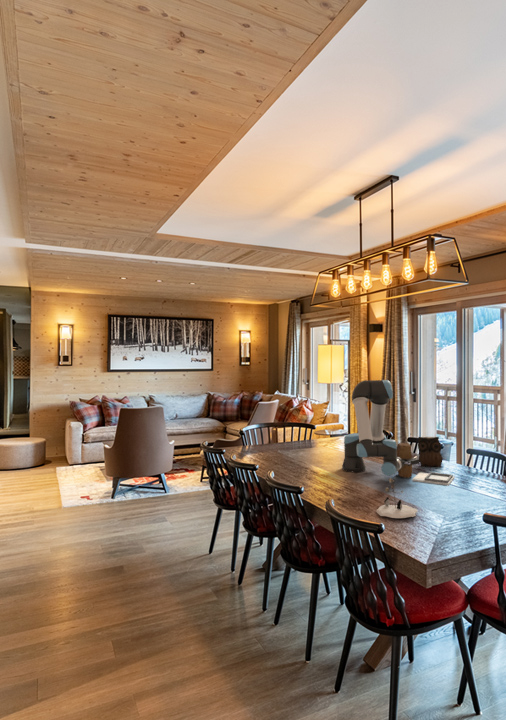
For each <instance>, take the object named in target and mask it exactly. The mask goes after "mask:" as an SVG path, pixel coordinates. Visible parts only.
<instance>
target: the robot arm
mask: <svg viewBox="0 0 506 720" xmlns="http://www.w3.org/2000/svg"><path fill="white" fill-rule="evenodd" d="M393 395H394V391H393V387H392V383H391V381H389V380H388V379H381V380H380V379H378V380H376V379H374V380H367V379H365V380H362V381H360V382H358V383H357V384H356V386H355V387H354V388H353V390H352V395H351V402H352V405H354V412H355V420H356V426H357V432H354V433H348V434H346V435H344V438H343V444H344V445H343V446H344V447H343V448H344V451H343V452H344V458H343V461H342V464H341V469H342V470H343V469H344V470H347V471H346V472H349V471H353V472H352V473H360V472H361V471H362V472H365V471H366V467H367V466H366V465H365V461H364V458H382V460H383V462H382V464H381V468H380V470H381V472H382V474H384V475H385V476H387V477H391V476H393V475H395V474H396V473H398V470H400V469H401V468H402V467H403V465H407V464H408V466H410V465H412V466H413V465H418V464H420V462H419V457H418V456H417V455H415V456H414V457H412V459H401V458H400V457H397V445H398V443H397V441H396V440H395V439H388V438H387V437H386V435H385V433H384V432H383V431H384V422H385V415H386V413H385V412H386V406H387V404H389V402H390V400H391V399H393V398H394V396H393ZM369 402H371V406H370V407H371V408H370V413H369V409H368V408H369V406H368V403H369ZM369 414H370V415H369ZM404 460H405V461H404ZM344 470H343V471H344Z"/></svg>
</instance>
